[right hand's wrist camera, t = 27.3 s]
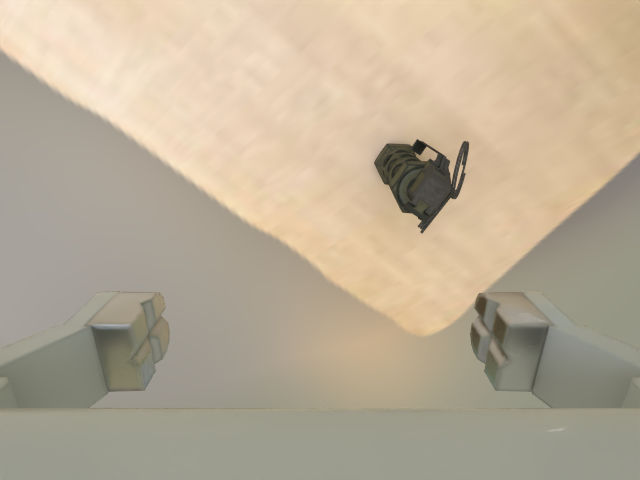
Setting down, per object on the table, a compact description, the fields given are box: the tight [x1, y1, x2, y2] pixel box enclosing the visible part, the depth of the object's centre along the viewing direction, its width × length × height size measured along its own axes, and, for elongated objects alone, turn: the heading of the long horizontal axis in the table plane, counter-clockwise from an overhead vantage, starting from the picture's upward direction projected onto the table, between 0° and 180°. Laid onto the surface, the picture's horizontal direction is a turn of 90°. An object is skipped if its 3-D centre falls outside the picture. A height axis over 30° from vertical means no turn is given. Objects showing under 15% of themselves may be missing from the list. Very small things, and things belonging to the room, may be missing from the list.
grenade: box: [374, 139, 469, 233], centre depth 38 cm, size 9×6×15 cm, turn 148°
